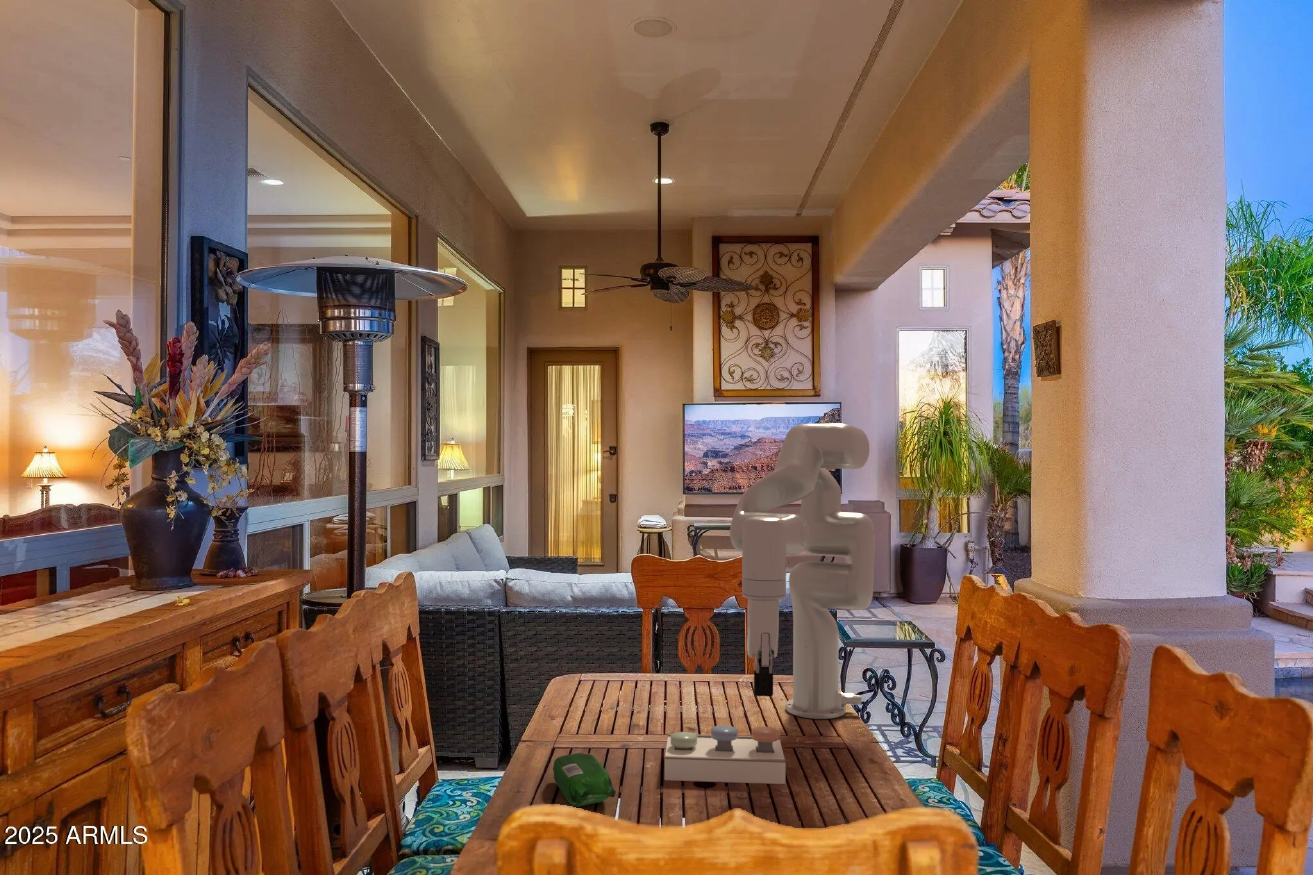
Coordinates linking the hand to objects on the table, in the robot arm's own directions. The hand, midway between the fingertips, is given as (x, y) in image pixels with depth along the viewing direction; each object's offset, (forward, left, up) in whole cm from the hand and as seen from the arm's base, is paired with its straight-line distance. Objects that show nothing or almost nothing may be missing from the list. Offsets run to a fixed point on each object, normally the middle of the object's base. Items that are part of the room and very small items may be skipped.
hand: (763, 694), depth 146 cm
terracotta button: (0, 0, -9) cm, 9 cm away
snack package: (+30, +13, -13) cm, 35 cm away
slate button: (+7, 0, -9) cm, 12 cm away
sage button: (+14, 0, -11) cm, 17 cm away
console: (+7, 0, -13) cm, 15 cm away
